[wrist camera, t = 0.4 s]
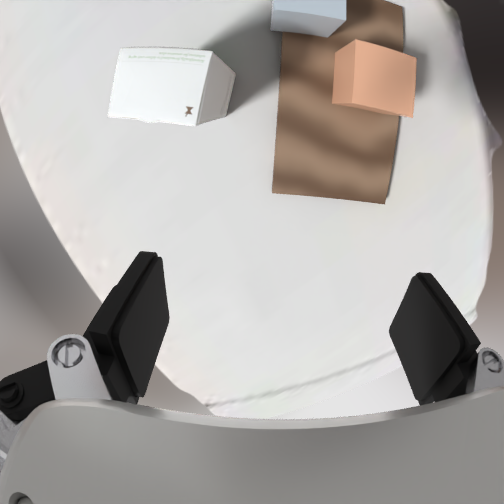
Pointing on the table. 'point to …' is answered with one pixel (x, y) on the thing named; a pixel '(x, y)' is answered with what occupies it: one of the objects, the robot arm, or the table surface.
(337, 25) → the pale blue cube
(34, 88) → the table surface
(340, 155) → the walnut board
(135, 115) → the skincare box
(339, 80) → the peach cube block
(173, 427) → the robot arm
